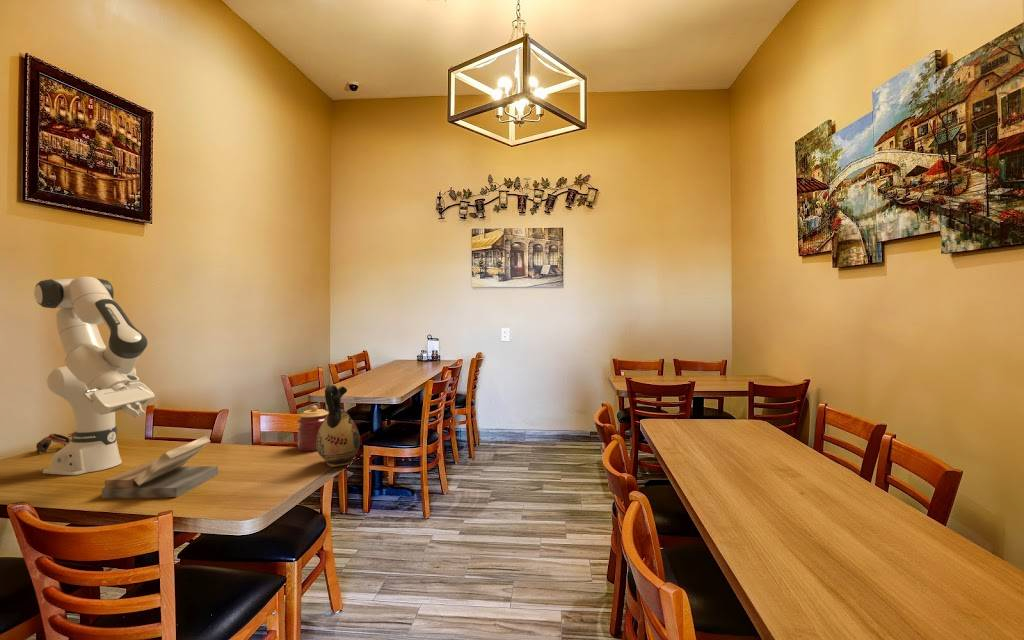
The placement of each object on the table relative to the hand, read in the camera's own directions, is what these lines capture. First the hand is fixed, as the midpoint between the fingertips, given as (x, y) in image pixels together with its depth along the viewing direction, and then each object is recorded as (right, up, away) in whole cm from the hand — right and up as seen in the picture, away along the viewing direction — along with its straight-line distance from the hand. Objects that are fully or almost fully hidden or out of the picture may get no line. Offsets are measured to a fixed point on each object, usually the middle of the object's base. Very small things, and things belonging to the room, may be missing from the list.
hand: (140, 415), depth 152 cm
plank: (+12, -16, 0) cm, 20 cm away
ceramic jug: (+57, -23, +21) cm, 65 cm away
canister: (+39, -22, +42) cm, 62 cm away
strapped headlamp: (-70, -24, +41) cm, 84 cm away
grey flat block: (+7, -23, 0) cm, 24 cm away
